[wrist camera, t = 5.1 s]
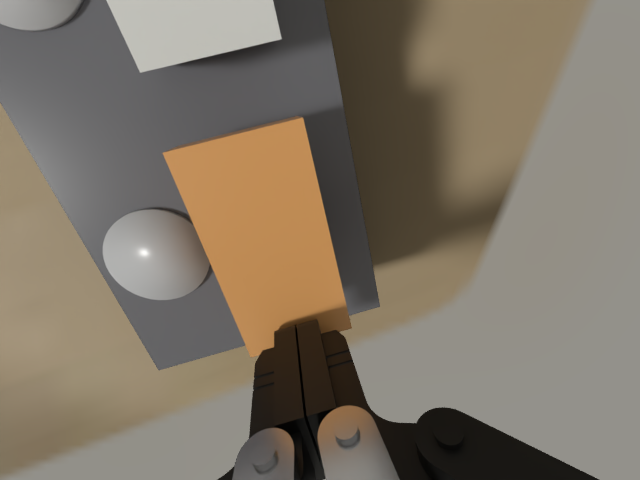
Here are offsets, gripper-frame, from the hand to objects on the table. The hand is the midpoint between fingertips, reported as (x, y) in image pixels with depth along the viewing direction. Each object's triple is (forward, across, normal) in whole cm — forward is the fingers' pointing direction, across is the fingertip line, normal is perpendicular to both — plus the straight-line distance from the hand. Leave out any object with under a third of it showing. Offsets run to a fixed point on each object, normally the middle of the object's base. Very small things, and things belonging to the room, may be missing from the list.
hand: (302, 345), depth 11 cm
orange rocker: (+1, 0, -4) cm, 4 cm away
